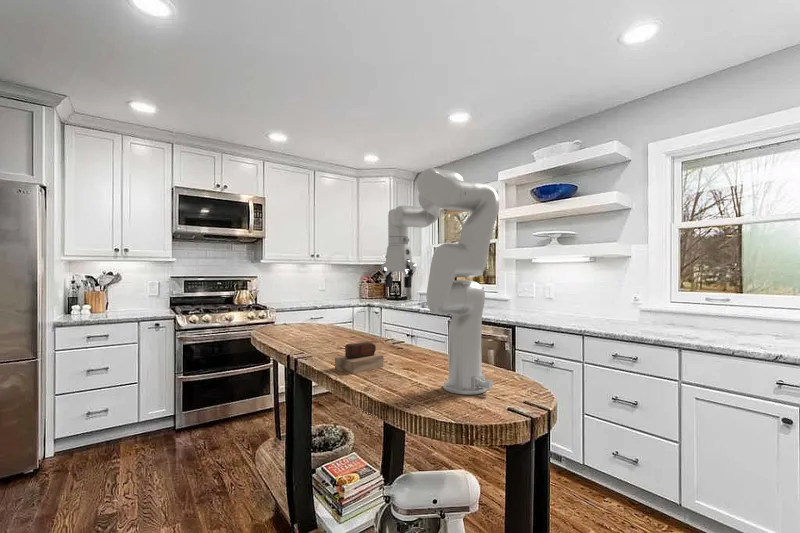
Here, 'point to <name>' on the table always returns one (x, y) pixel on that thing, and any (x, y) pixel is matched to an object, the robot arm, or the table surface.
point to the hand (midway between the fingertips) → (398, 287)
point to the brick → (359, 350)
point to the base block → (358, 363)
